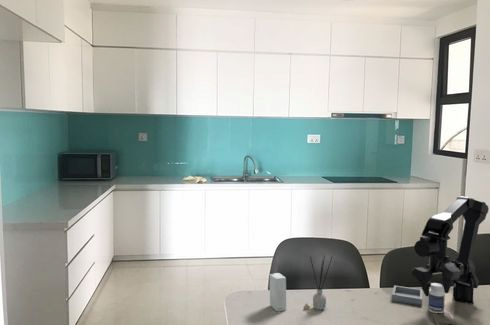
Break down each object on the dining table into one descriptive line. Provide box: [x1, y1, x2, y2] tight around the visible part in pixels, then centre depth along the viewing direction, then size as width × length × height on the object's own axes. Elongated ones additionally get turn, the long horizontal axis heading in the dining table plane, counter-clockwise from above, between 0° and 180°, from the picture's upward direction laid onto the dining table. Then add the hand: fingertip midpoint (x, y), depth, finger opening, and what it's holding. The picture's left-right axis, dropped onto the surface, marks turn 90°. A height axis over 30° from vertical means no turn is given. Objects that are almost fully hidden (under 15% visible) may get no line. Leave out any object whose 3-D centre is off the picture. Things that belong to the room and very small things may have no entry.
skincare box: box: [269, 272, 287, 312], centre depth 145 cm, size 6×4×12 cm
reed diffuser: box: [303, 254, 333, 310], centre depth 144 cm, size 10×7×20 cm
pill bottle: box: [427, 282, 446, 314], centre depth 144 cm, size 5×5×10 cm
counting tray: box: [391, 284, 423, 307], centre depth 155 cm, size 11×11×2 cm
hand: (436, 294), depth 144 cm, fingers open, 9 cm apart
